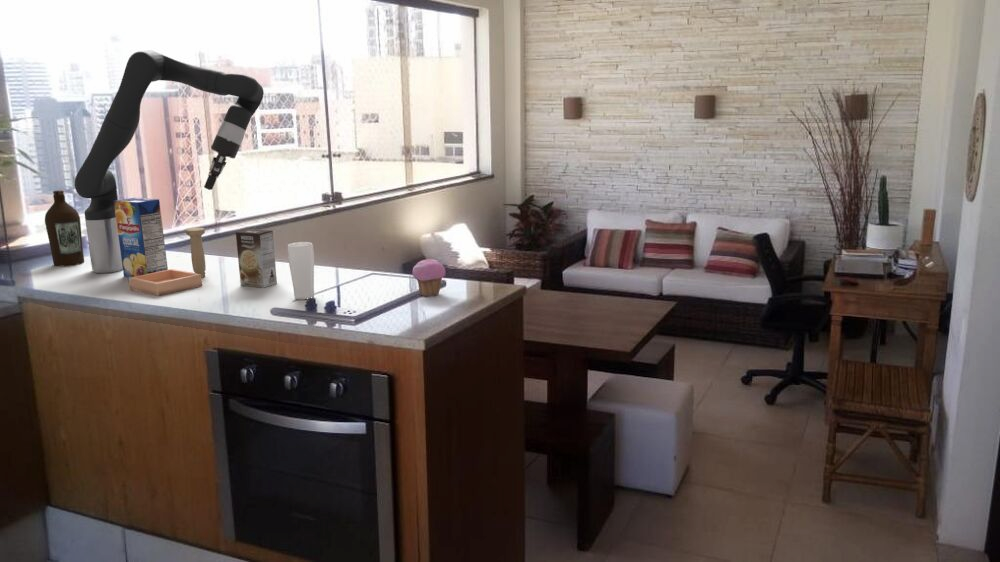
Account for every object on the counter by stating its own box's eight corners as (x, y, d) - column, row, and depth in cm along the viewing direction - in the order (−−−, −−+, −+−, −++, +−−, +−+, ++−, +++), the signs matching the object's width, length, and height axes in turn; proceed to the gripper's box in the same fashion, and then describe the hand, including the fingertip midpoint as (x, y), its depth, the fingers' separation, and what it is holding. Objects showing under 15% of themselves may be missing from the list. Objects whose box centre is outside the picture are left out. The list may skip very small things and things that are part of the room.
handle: (198, 279, 251) (193, 231, 248) (187, 277, 255) (182, 229, 252) (213, 276, 255) (207, 228, 251) (201, 274, 259) (196, 227, 255)
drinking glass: (304, 302, 220) (299, 247, 217) (286, 299, 224) (281, 245, 220) (322, 296, 226) (318, 242, 222) (304, 293, 229) (300, 241, 226)
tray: (130, 289, 240) (128, 277, 240) (173, 280, 251) (172, 268, 251) (158, 295, 232) (157, 283, 231) (202, 285, 243) (201, 274, 242)
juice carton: (123, 276, 258) (113, 200, 253) (144, 271, 265) (134, 197, 259) (148, 280, 252) (138, 202, 247) (168, 275, 259) (159, 199, 253)
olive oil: (47, 264, 282) (36, 191, 276) (80, 259, 289) (69, 188, 283) (57, 268, 274) (45, 193, 268) (90, 263, 281) (80, 190, 276)
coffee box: (239, 285, 242) (233, 231, 238) (254, 280, 247) (249, 228, 244) (264, 288, 238) (258, 233, 234) (278, 283, 243) (273, 229, 240)
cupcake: (441, 290, 229) (439, 254, 227) (450, 297, 221) (448, 260, 219) (410, 293, 226) (408, 258, 224) (418, 300, 218) (416, 263, 216)
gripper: (215, 136, 254) (194, 184, 254) (217, 132, 241) (195, 183, 240) (238, 146, 257) (218, 194, 256) (242, 143, 244) (221, 193, 243)
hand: (207, 188), depth 248 cm, fingers open, 8 cm apart
